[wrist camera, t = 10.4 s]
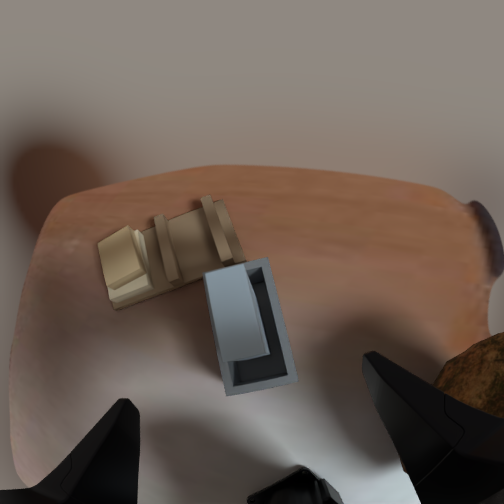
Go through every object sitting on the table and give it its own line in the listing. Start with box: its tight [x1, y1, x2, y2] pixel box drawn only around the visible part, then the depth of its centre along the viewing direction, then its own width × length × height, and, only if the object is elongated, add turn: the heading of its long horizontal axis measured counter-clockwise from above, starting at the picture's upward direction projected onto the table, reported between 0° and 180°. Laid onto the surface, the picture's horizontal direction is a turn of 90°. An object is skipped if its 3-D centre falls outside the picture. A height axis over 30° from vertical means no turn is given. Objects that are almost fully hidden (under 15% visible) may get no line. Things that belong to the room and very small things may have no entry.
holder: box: [202, 257, 299, 396], centre depth 20 cm, size 9×5×5 cm, turn 12°
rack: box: [98, 195, 247, 311], centre depth 24 cm, size 7×14×3 cm, turn 110°
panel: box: [205, 264, 271, 362], centre depth 17 cm, size 4×2×10 cm, turn 13°
